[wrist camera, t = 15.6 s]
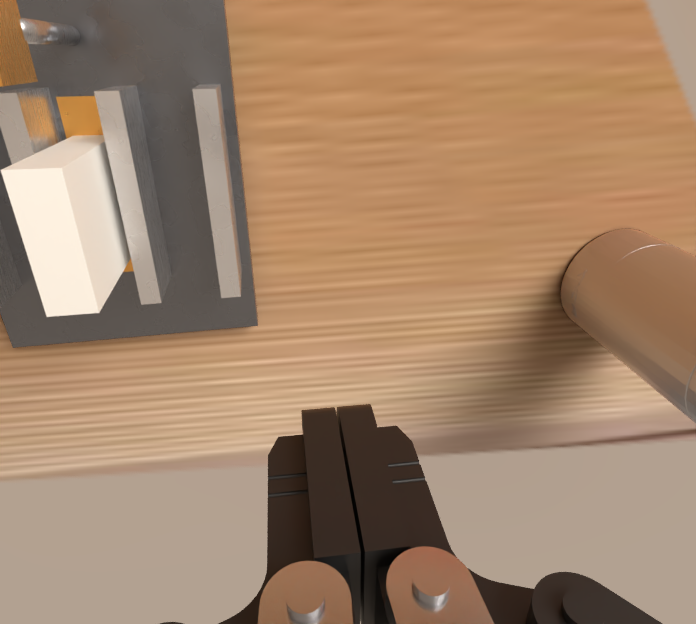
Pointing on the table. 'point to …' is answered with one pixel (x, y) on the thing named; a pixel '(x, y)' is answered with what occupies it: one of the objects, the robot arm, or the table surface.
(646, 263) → the robot arm
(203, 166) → the rack
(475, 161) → the table surface
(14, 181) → the block
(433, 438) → the table surface
